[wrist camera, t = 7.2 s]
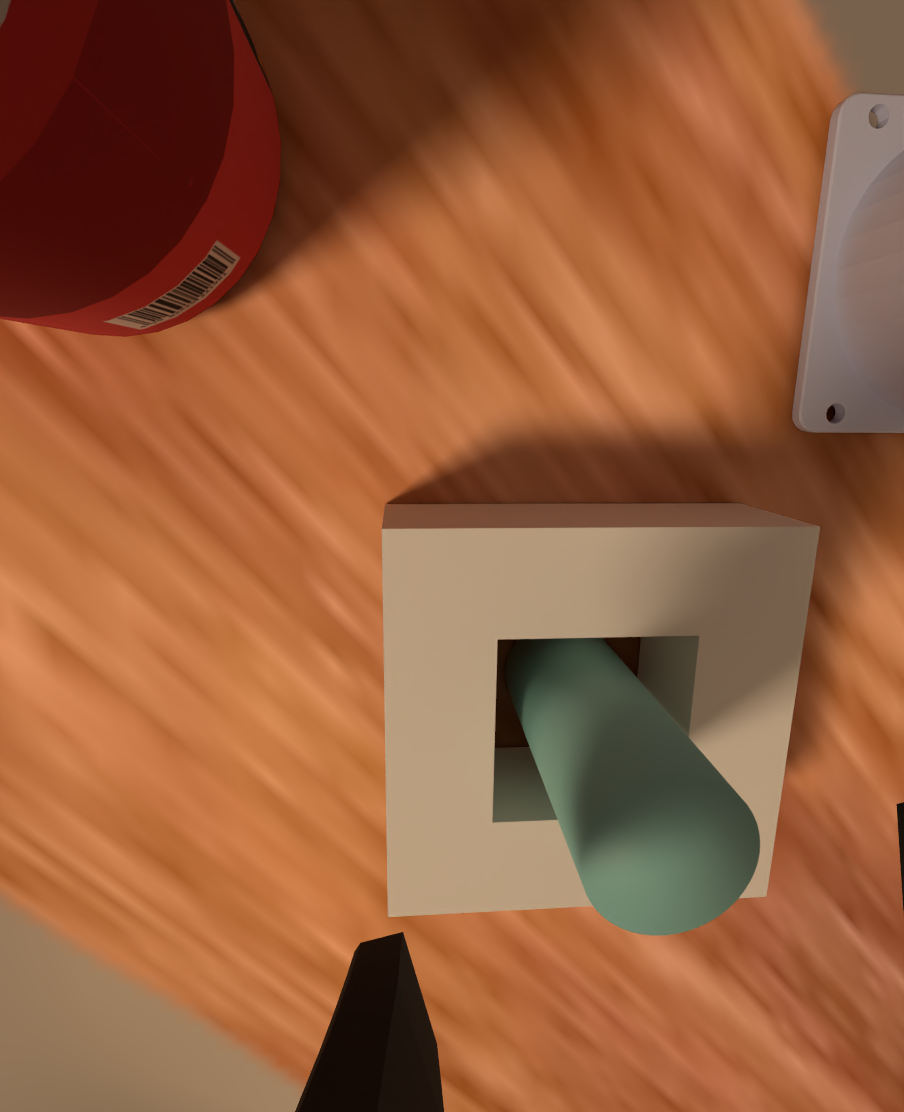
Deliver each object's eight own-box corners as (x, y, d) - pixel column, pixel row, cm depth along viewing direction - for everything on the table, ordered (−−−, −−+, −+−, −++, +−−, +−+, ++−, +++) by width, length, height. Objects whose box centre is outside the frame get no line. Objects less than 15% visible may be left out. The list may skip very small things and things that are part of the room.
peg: (614, 617, 19) (770, 770, 11) (609, 718, 19) (749, 929, 12) (505, 620, 18) (584, 780, 11) (503, 722, 19) (576, 941, 11)
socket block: (741, 503, 18) (820, 526, 15) (705, 814, 20) (766, 896, 17) (385, 504, 17) (381, 528, 14) (389, 828, 20) (388, 916, 16)
